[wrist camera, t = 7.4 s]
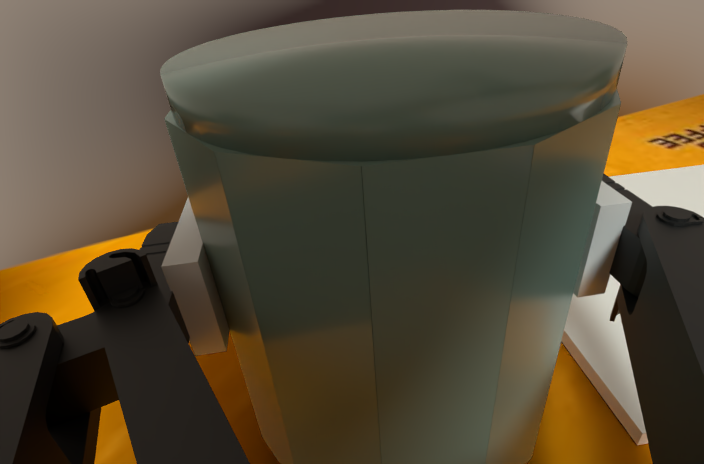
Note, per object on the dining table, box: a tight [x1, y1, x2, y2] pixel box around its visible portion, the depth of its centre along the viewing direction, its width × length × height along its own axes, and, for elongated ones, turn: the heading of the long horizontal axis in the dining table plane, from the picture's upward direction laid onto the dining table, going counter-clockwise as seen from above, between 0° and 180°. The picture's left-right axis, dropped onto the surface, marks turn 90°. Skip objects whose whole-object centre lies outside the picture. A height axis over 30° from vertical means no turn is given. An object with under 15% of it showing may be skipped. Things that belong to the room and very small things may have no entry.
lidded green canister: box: [160, 10, 627, 464], centre depth 12 cm, size 9×9×11 cm
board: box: [561, 165, 704, 445], centre depth 21 cm, size 16×16×1 cm
